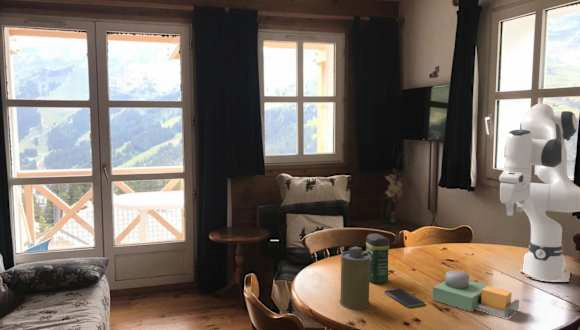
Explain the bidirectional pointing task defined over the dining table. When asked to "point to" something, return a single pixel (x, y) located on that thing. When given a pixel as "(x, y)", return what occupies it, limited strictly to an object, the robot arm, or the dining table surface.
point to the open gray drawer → (506, 314)
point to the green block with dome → (458, 291)
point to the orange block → (495, 297)
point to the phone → (404, 298)
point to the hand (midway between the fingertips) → (514, 213)
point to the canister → (355, 278)
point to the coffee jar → (378, 257)
